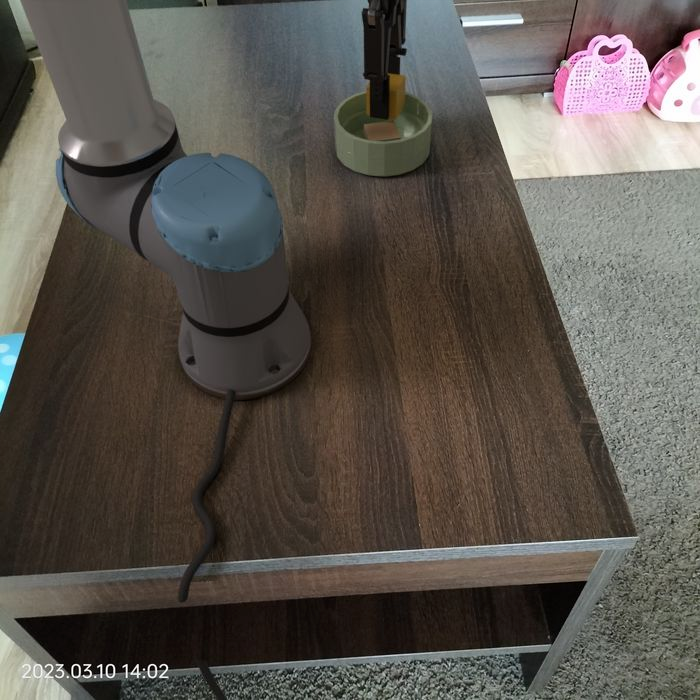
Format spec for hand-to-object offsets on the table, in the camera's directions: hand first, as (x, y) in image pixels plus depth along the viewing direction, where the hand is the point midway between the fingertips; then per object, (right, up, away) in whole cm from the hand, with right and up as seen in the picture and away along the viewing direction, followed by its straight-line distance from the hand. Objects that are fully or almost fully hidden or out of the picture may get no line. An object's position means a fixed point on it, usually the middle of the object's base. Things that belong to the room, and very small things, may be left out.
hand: (384, 107), depth 107 cm
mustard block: (0, 0, 0) cm, 0 cm away
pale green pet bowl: (0, -6, +3) cm, 6 cm away
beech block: (0, -7, +1) cm, 7 cm away
